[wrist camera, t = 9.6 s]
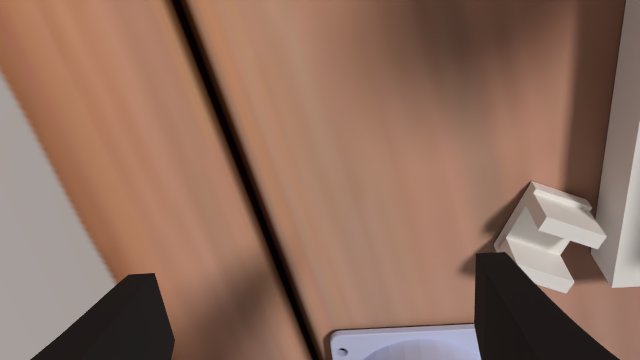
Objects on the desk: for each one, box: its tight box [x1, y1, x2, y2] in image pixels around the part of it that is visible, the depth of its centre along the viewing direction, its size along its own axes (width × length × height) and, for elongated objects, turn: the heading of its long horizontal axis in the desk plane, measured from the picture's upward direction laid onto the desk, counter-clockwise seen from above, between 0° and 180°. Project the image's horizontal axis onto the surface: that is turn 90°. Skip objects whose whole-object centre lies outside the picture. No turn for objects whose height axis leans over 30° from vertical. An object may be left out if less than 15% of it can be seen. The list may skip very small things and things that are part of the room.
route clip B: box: [494, 181, 607, 293], centre depth 22 cm, size 3×2×2 cm
